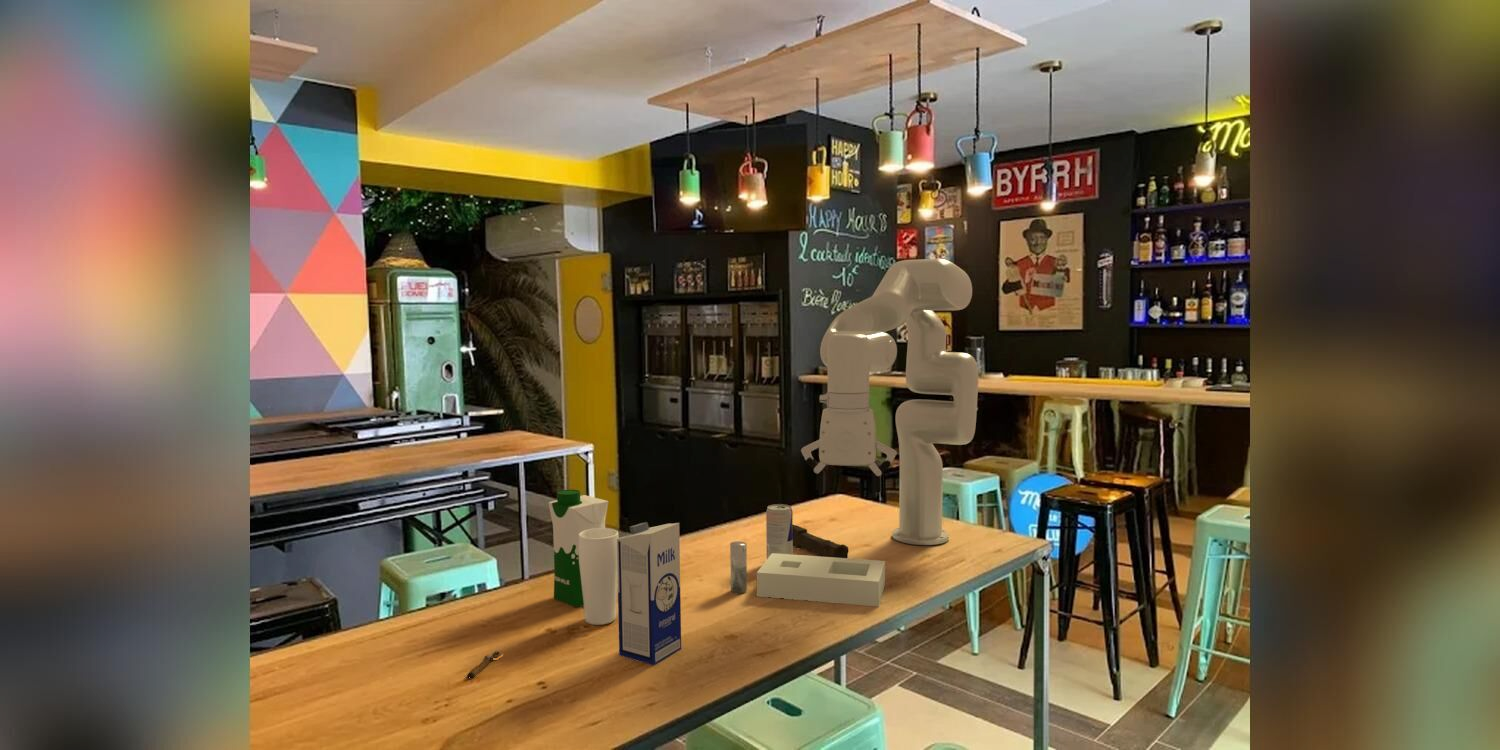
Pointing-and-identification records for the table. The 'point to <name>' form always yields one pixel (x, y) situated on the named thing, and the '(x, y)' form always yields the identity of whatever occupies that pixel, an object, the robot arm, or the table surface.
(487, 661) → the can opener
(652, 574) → the milk carton
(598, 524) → the soya milk
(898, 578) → the table surface
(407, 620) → the table surface
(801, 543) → the hand tool
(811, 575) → the socket block
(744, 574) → the grey metal peg
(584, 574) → the drinking glass
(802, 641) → the table surface
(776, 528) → the energy drink
